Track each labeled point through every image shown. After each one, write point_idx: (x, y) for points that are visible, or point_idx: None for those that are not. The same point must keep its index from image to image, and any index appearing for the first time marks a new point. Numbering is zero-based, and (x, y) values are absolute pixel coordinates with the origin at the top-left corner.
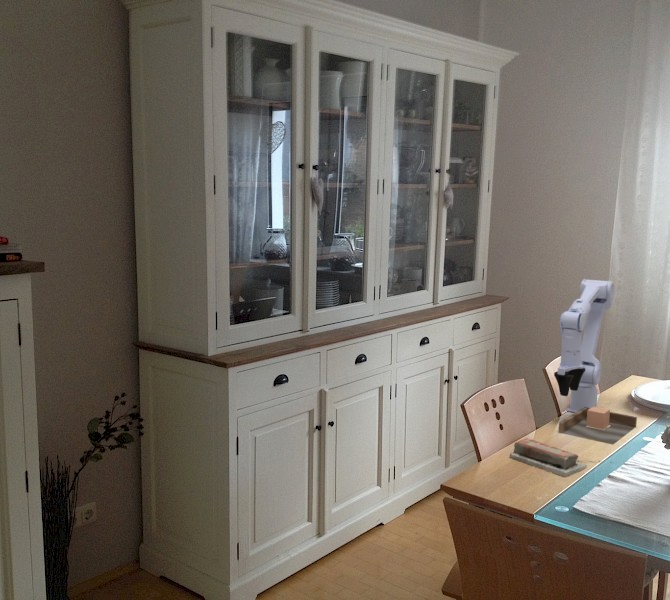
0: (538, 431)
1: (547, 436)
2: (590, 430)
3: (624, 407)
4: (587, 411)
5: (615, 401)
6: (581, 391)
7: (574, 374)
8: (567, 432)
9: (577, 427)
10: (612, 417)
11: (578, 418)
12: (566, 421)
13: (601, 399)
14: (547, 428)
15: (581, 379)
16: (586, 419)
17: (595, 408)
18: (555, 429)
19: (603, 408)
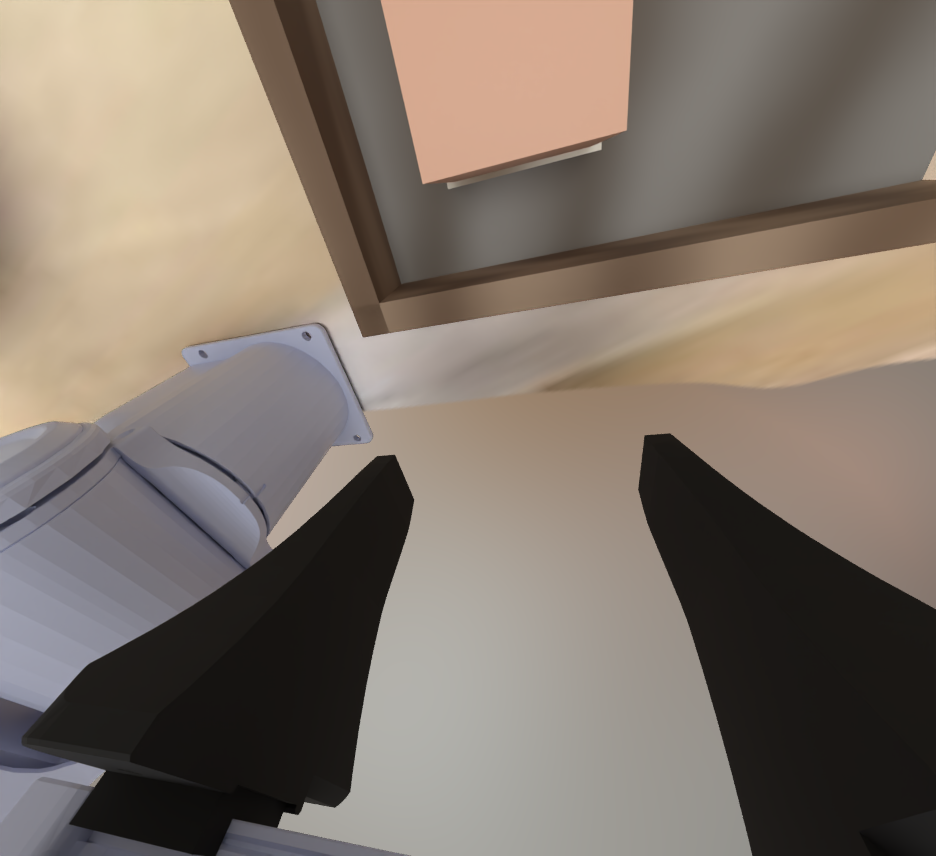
0: (820, 365)
1: (933, 267)
2: (693, 20)
3: (15, 267)
4: (621, 131)
5: (32, 357)
6: (260, 454)
7: (323, 657)
8: (874, 160)
9: (668, 187)
10: (294, 7)
11: (556, 260)
12: (905, 203)
13: (96, 413)
14: (722, 359)
15: (181, 539)
16: (433, 261)
17: (475, 104)
18: (716, 316)
19: (390, 3)
